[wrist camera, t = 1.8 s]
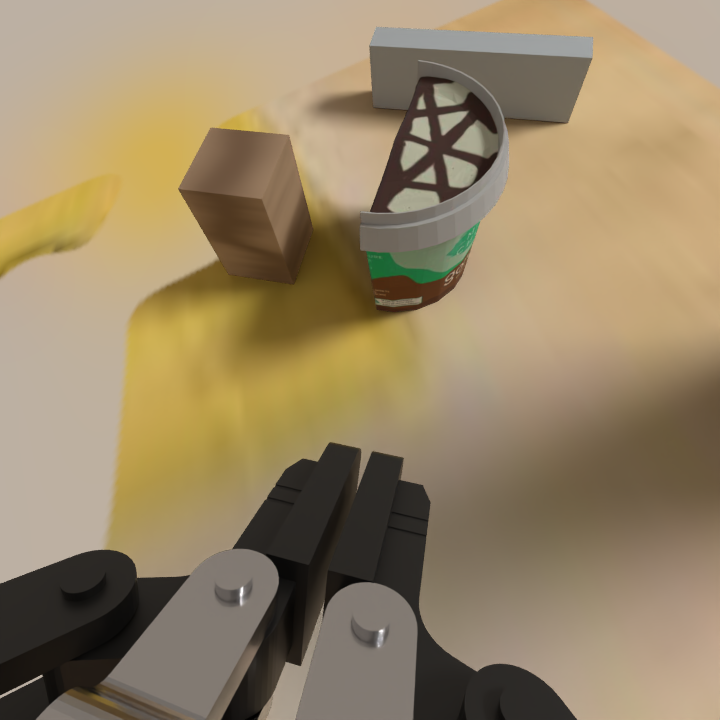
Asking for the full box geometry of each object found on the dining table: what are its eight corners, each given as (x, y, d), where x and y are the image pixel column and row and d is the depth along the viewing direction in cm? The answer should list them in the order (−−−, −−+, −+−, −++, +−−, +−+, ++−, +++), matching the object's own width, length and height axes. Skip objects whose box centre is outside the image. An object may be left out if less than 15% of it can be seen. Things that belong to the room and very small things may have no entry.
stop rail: (569, 102, 36) (593, 37, 32) (567, 122, 35) (592, 57, 31) (379, 89, 39) (376, 26, 35) (373, 107, 38) (369, 45, 34)
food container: (464, 349, 28) (494, 245, 19) (370, 328, 29) (356, 221, 20) (497, 204, 33) (534, 64, 24) (415, 191, 34) (420, 53, 25)
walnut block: (313, 229, 33) (288, 135, 26) (293, 284, 31) (261, 198, 24) (251, 221, 34) (210, 127, 27) (228, 274, 32) (178, 188, 25)
